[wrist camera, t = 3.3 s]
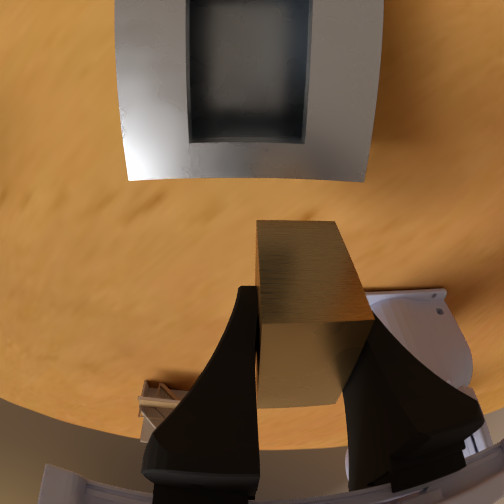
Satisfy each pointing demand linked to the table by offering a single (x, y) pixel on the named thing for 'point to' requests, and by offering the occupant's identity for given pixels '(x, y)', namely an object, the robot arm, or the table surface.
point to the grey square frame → (248, 87)
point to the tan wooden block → (306, 313)
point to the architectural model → (156, 407)
